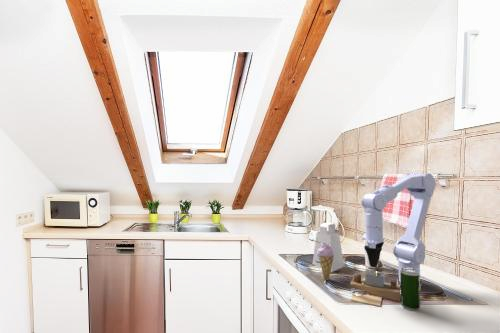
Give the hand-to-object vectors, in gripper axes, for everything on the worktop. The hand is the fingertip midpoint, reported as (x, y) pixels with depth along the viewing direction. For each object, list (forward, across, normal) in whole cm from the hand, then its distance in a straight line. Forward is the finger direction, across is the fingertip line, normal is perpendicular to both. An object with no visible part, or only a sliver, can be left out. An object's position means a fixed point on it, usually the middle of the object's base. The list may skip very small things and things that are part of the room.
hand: (374, 263), depth 101 cm
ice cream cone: (+11, -4, -19) cm, 22 cm away
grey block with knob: (+7, 0, 0) cm, 7 cm away
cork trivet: (+10, +8, -2) cm, 13 cm away
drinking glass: (+11, -30, -4) cm, 32 cm away
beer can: (+11, +6, +11) cm, 17 cm away
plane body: (+10, 0, 0) cm, 10 cm away
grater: (+11, -21, -22) cm, 32 cm away
